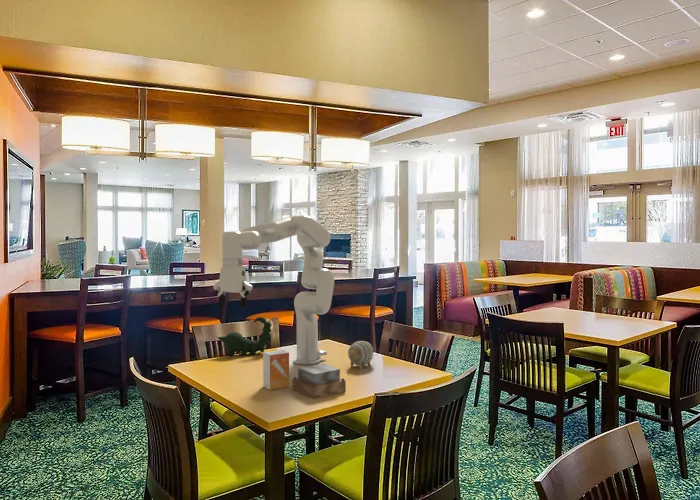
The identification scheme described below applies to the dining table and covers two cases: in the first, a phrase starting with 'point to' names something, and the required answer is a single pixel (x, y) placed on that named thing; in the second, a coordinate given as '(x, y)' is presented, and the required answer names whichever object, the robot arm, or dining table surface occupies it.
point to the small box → (276, 369)
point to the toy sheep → (360, 353)
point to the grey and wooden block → (319, 381)
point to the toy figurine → (247, 340)
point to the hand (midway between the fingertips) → (233, 307)
